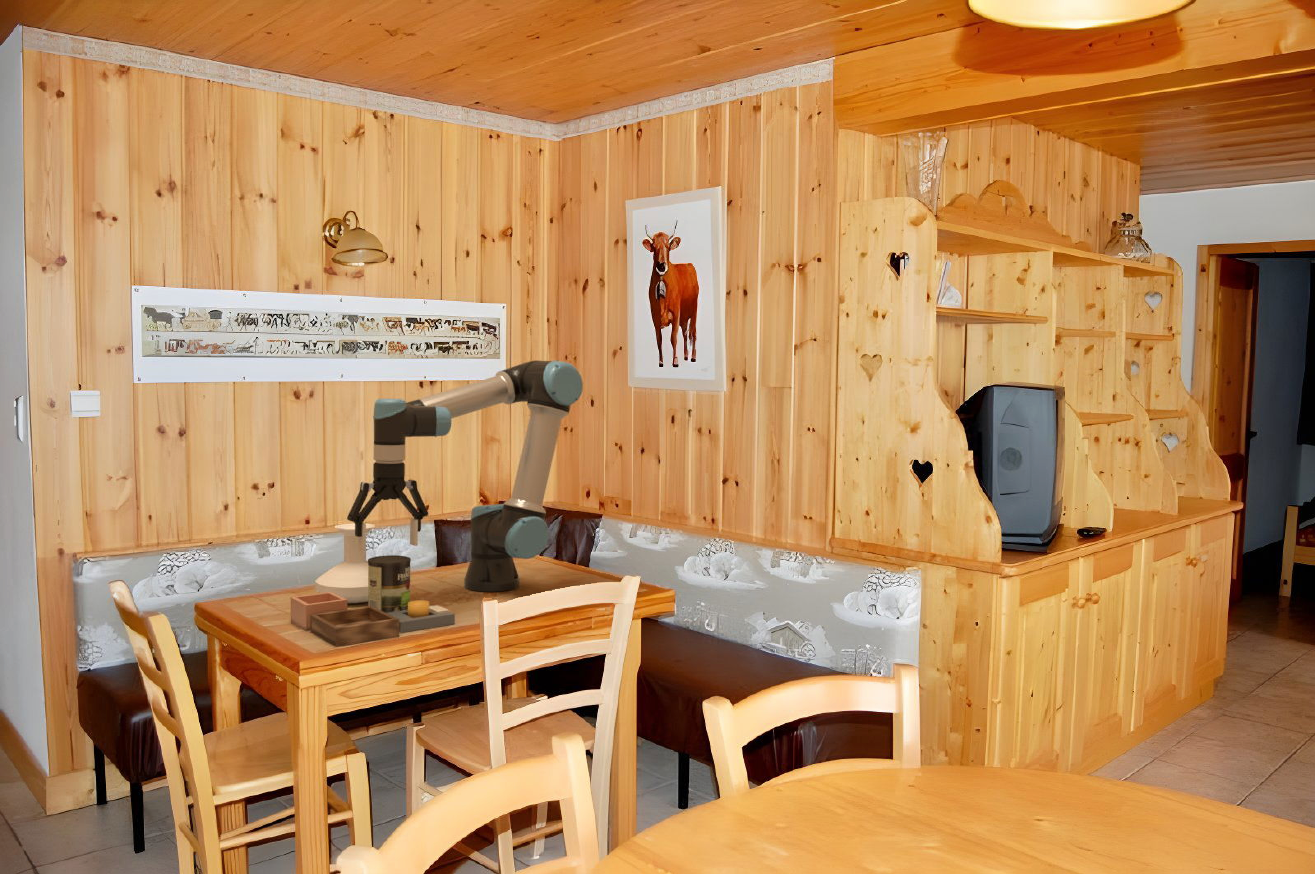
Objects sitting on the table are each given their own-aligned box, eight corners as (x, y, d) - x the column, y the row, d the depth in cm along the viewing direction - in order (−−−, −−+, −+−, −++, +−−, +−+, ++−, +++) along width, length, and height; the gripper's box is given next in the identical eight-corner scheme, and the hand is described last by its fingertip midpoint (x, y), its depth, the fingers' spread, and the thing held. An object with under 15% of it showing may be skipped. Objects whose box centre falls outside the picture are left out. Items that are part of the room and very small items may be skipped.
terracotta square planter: (331, 615, 258) (331, 591, 257) (347, 624, 250) (347, 599, 250) (290, 621, 252) (290, 597, 251) (306, 630, 244) (305, 605, 243)
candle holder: (315, 592, 283) (314, 521, 281) (391, 588, 289) (391, 519, 287) (315, 609, 264) (314, 534, 262) (396, 605, 270) (396, 531, 268)
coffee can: (417, 611, 264) (417, 556, 263) (399, 621, 254) (399, 564, 253) (379, 608, 266) (379, 553, 265) (360, 618, 256) (360, 561, 255)
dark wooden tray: (371, 622, 252) (371, 606, 252) (399, 636, 241) (399, 619, 241) (310, 631, 243) (310, 614, 243) (335, 646, 231) (335, 628, 231)
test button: (423, 615, 255) (423, 599, 255) (432, 619, 252) (432, 603, 251) (404, 618, 252) (404, 601, 252) (413, 622, 248) (413, 606, 248)
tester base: (435, 615, 260) (435, 603, 260) (454, 624, 252) (454, 611, 252) (382, 623, 251) (382, 610, 251) (400, 632, 244) (400, 619, 243)
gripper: (428, 458, 268) (427, 540, 269) (333, 462, 252) (333, 549, 254) (442, 461, 262) (441, 545, 263) (346, 465, 246) (345, 554, 248)
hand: (388, 547), depth 259 cm, fingers open, 13 cm apart
